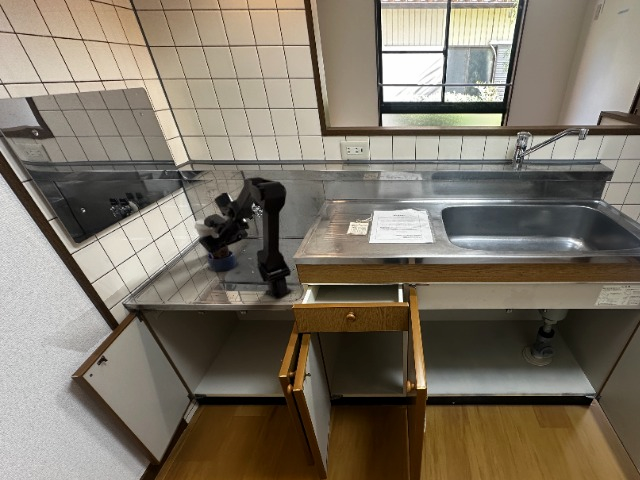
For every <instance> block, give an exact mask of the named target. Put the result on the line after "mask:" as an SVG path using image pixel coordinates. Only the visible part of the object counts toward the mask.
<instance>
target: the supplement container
mask: <svg viewBox="0 0 640 480" xmlns="http://www.w3.org/2000/svg"><path fill="white" fill-rule="evenodd" d="M229 250H230V249H229V245H227V243H226V242H224V243H222V244H220V250H218V251H216V252H213V253H210V254H211V258H212V259H223V258H227V257H229V256H230V253H229Z"/></svg>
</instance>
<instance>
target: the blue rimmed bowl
mask: <svg viewBox="0 0 640 480" xmlns="http://www.w3.org/2000/svg"><path fill="white" fill-rule="evenodd" d="M229 253H230V256H229V257H227V258H223V259H212V258H211V254H210V253H208V254H207V255H206V261H207V264H208V267H209V269H210V271H213V272H224V271H229V270H231V269H234V268H235V267H236V266H237V261H236V256H235V252H234V251H232V250H230V249H229Z"/></svg>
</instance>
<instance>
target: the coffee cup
mask: <svg viewBox="0 0 640 480" xmlns="http://www.w3.org/2000/svg"><path fill="white" fill-rule="evenodd" d="M205 218H206V217H205ZM205 218H200V219H197V220H195V223H194V229H195V230H196V232H197V234H198V237H199V238H200V237H202V236H204V235H207V234H210V235H212V236H213V237H214V238H218V234H216V233H215V232H214V231H215V229H213V228H212V227H211V228H208V227H207V226H206V225H204V220H205ZM203 249H204V252H205V255H206V256H207V254H208V253H209V252H208V251H207V250H206V249H205V248H204V247H203Z"/></svg>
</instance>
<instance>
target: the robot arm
mask: <svg viewBox="0 0 640 480" xmlns="http://www.w3.org/2000/svg"><path fill="white" fill-rule="evenodd" d="M286 200H287V189H286V187H285V184H283V183H281V181H276V180H271V179H267V178H264V177H261V176H254V177H246V178H245V179H244V185H243V186H242V189H241V190H240V192H239V194H238V196H237V197H236V199H234V200H233V197H232V196H231V195H230V194H228V192H227V191H226V192H221V194H219V195H218V196H217V197H215V198H214V203H215V205H216V206H217V208H218V210H219V211H220V214H221V215H222V216H221V215H219V214H217V213H213V214H209V215H207V216H206V217H205V220H204V225H206V226H207V227H208V228H211V227H212V228H213V229H215V231H214V232H215V233H216V234H218V238H214V237H213V236H212V235H210V234H207V235H204V236H202V237H199V239H198V243H199V244H200V245H201V246H202V248H203V249H204V248H205V249H206V250H207V251H208V252H209V253H213V252H216V251H218V250H220V244H222V243H224V242H226V243H227V245H228V246H232V245H234V244H236V243H239V242H240V241H243V240H244V239H246V238H247V237H248V236H249V233H248V231H247V230H250V225H249V222H248V221H247V219H251V218H252V217H253V214H254V208H253V206H254V204H255V202H256V203H257V205H258V206H259V207H260V209H261V215H262V218H261V219H262V220H261V221H262V249H260V250H257V252H256V257H257V259H256V261H257V269H258V273H259V275H260V278H261V280H262V282H264V283H267V287H268V290H266V291H265V294H267V295H269V296H271V297H273V298H274V299H279V298H281V297H284V296H286V295H287V294H289V293H292V289H290V288H288V283H287V278H286V277H289V276H291V275H292V274H291V273H292V271H291V269H290V267H289V265H288V264H287V262H286V260H285V257H284V255H283V254H282V253H281V252H280V212H281V211H282V209H283V208H284V207H285V205H286ZM224 217H227V219H225V218H224Z"/></svg>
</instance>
